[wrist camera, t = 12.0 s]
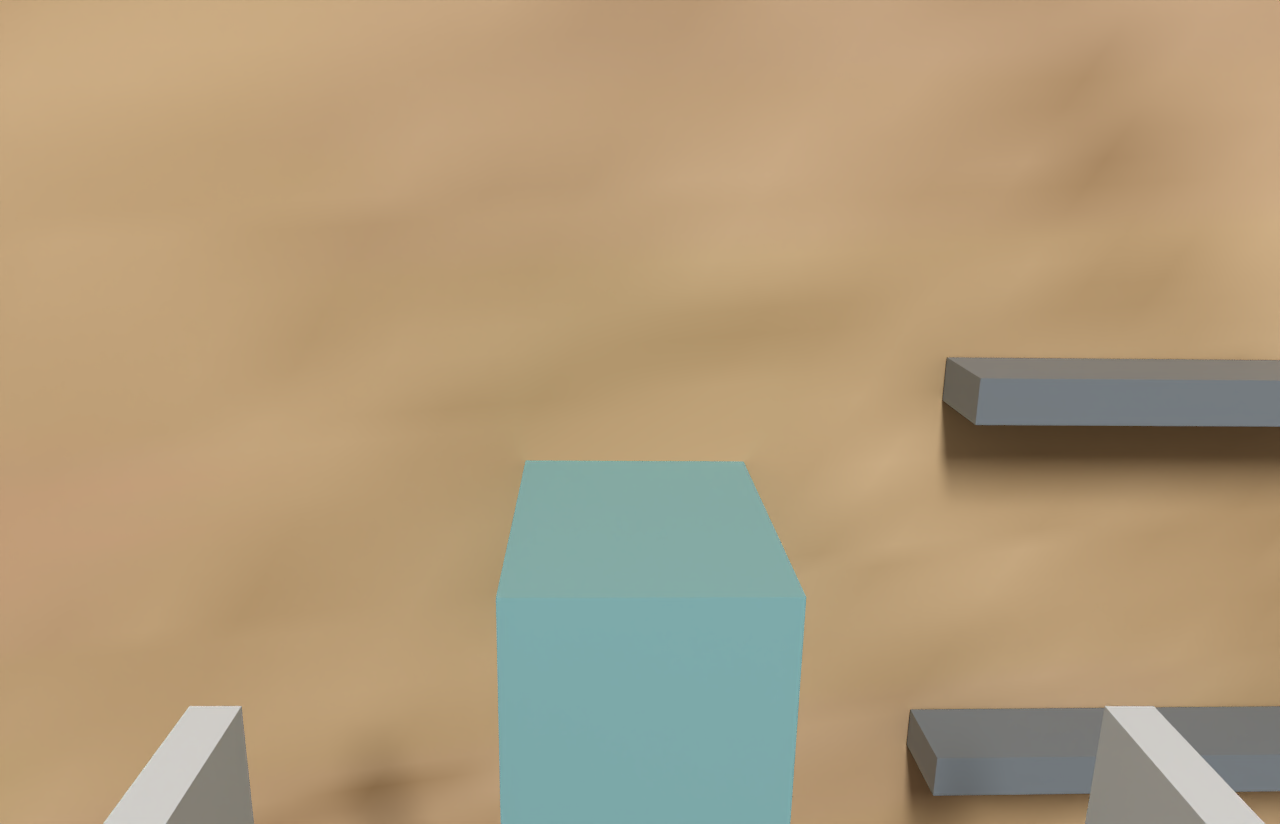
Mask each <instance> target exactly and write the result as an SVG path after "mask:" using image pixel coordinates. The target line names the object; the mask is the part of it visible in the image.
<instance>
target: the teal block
mask: <svg viewBox="0 0 1280 824" xmlns="http://www.w3.org/2000/svg"><path fill="white" fill-rule="evenodd" d="M805 606H806V596H805V594H804V592H803V589H802V587H801V585H800V583H799V581H798V579H797V576H796V574H795V572H794V570H793V568H792V566H791V563H790V561H789V559H788V557H787V555H786V553H785V550H784V548H783V546H782V544H781V542H780V540H779V537H778V535H777V533H776V531H775V529H774V527H773V524H772V522H771V520H770V518H769V516H768V514H767V511H766V509H765V507H764V505H763V503H762V501H761V498H760V496H759V494H758V492H757V490H756V488H755V485H754V483H753V481H752V479H751V477H750V475H749V473H748V470H747V468H746V466H745V464H744V462H710V461H526V462H525V466H524V471H523V476H522V480H521V485H520V490H519V494H518V499H517V503H516V508H515V513H514V517H513V522H512V526H511V531H510V536H509V540H508V545H507V549H506V554H505V559H504V563H503V568H502V573H501V577H500V582H499V586H498V591H497V596H496V621H497V668H498V714H499V761H500V808H501V824H790V818H791V804H792V790H793V776H794V762H795V748H796V733H797V719H798V705H799V691H800V677H801V663H802V649H803V634H804V620H805Z"/></svg>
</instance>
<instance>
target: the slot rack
mask: <svg viewBox="0 0 1280 824" xmlns="http://www.w3.org/2000/svg"><path fill="white" fill-rule="evenodd" d="M943 401H944V402H945V403H947V404H948V405H949V406H951V407H952V408H953V409H955V410H956V411H957V412H959V413H960V414H961V415H963V416H964V417H965V418H967V419H968V420H969V421H971V422H972V423H973V424H975V425H1080V426H1276V427H1280V360H1183V359H1063V358H947V363H946V373H945V383H944V392H943ZM1156 709H1157V710H1158V711H1159V712H1160V713H1161V714H1162V715H1163V716H1164V718H1165V719H1166V720H1167V721H1168V722H1169V723H1170V724H1171V725H1172V726H1173V727H1174V728H1175V729H1176V730H1177V731H1178V732H1179V733H1180V734H1181V735H1182V737H1183V738H1184V739H1185V740H1186V741H1187V742H1188V743H1189V744H1190V745H1191V746H1192V747H1193V748H1194V749H1195V750H1196V751H1197V752H1198V753H1199V755H1200V756H1201V757H1202V758H1203V759H1204V760H1205V761H1206V762H1207V763H1208V764H1209V765H1210V766H1211V767H1212V768H1213V769H1214V770H1215V771H1216V772H1217V774H1218V775H1219V776H1220V777H1221V778H1222V779H1223V780H1224V781H1225V782H1226V783H1227V784H1228V785H1229V786H1230V787H1231V788H1232V789H1233V790H1234V792H1251V791H1280V706H1277V707H1163V708H1156ZM1103 714H1104V708H1048V709H934V710H910V719H909V729H908V739H907V746H908V748H909V750H910V752H911V754H912V756H913V757H914V759H915V761H916V763H917V765H918V767H919V769H920V771H921V773H922V775H923V777H924V779H925V781H926V783H927V785H928V787H929V789H930V791H931V792H932V794H933V796H941V795H1019V794H1090V792H1091V786H1092V780H1093V774H1094V768H1095V762H1096V756H1097V750H1098V744H1099V738H1100V732H1101V726H1102V720H1103Z"/></svg>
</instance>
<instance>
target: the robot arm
mask: <svg viewBox="0 0 1280 824" xmlns="http://www.w3.org/2000/svg"><path fill="white" fill-rule="evenodd" d="M103 824H254V820H253V811H252V801H251V792H250V782H249V773H248V763H247V754H246V744H245V735H244V725H243V716H242V707H241V706H189V708H188V709H187V710H186V712H185V713H184V714H183V716H182V717H181V718H180V720H179V721H178V723H177V724H176V725H175V727H174V728H173V729H172V731H171V732H170V733H169V735H168V736H167V737H166V739H165V740H164V742H163V743H162V744H161V746H160V747H159V748H158V750H157V751H156V752H155V754H154V755H153V757H152V758H151V759H150V761H149V762H148V763H147V765H146V766H145V767H144V769H143V770H142V772H141V773H140V774H139V776H138V777H137V778H136V780H135V781H134V782H133V784H132V785H131V787H130V788H129V789H128V791H127V792H126V793H125V795H124V796H123V797H122V799H121V800H120V801H119V803H118V804H117V806H116V807H115V808H114V810H113V811H112V812H111V814H110V815H109V816H108V818H107V819H106V821H105V822H104V823H103ZM1085 824H1265V823H1264V822H1263V821H1262V820H1261V819H1260V818H1259V817H1258V816H1257V815H1256V814H1255V813H1254V812H1253V811H1252V809H1251V808H1250V807H1249V806H1248V805H1247V804H1246V803H1245V802H1244V801H1243V800H1242V799H1241V798H1240V797H1239V796H1238V795H1237V794H1236V793H1235V792H1234V790H1233V789H1232V788H1231V787H1230V786H1229V785H1228V784H1227V783H1226V782H1225V781H1224V780H1223V779H1222V778H1221V777H1220V776H1219V775H1218V774H1217V772H1216V771H1215V770H1214V769H1213V768H1212V767H1211V766H1210V765H1209V764H1208V763H1207V762H1206V761H1205V760H1204V759H1203V758H1202V757H1201V756H1200V755H1199V753H1198V752H1197V751H1196V750H1195V749H1194V748H1193V747H1192V746H1191V745H1190V744H1189V743H1188V742H1187V741H1186V740H1185V739H1184V738H1183V737H1182V735H1181V734H1180V733H1179V732H1178V731H1177V730H1176V729H1175V728H1174V727H1173V726H1172V725H1171V724H1170V723H1169V722H1168V721H1167V720H1166V719H1165V718H1164V716H1163V715H1162V714H1161V713H1160V712H1159V711H1158V710H1157V709H1156V708H1155V707H1154V706H1105V708H1104V714H1103V720H1102V726H1101V732H1100V738H1099V744H1098V750H1097V756H1096V762H1095V768H1094V774H1093V780H1092V786H1091V792H1090V798H1089V803H1088V809H1087V815H1086V821H1085Z"/></svg>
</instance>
